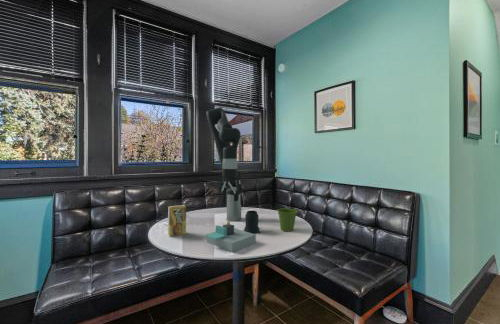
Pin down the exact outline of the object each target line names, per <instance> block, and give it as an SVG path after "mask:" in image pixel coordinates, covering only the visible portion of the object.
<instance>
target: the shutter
mask: <svg viewBox="0 0 500 324" xmlns="http://www.w3.org/2000/svg"><path fill="white" fill-rule="evenodd" d="M215 231H216V232H215ZM215 231H213V232H214V233H212V232H210V233H211V234H209V233H207V234H208V235H207V234H206V235H205V237H206V238H207V237H208V238H211V239H213V240H218V239H221V238H224V237H227V228H225V227H223V225H219V224H217V225H215Z"/></svg>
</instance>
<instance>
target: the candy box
mask: <svg viewBox="0 0 500 324" xmlns="http://www.w3.org/2000/svg"><path fill="white" fill-rule="evenodd" d="M167 209H168V210H167V211H168V213H167V215H168V216H167V219H168V221H167V234H168V236H169V237H174V236H175V237H176V236H182V235H186V234H187V206H186V205H185V204H181V205H171V206H168V207H167Z"/></svg>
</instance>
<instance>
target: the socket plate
mask: <svg viewBox="0 0 500 324" xmlns="http://www.w3.org/2000/svg"><path fill="white" fill-rule="evenodd" d="M214 232H216V230H214V231H212V232H209V233H206V235H208V234H211V233H214ZM256 234H257V233H256ZM256 234H252V233H249V232H246V231H244V230H242V229H239V228H236V227H234V234H232V235H229V236H227V237H224V238H221V239H218V240H213V239H211V238H208V237H206V243H208V244H210V245H213V246H215V247H218V248H220V249H222V250H226V251H228V252H230V253H234V252H236V251H238V250H241V249H244V248H246V247H248V246H250V245H253V244H256V241H257V240H256V239H257V235H256Z"/></svg>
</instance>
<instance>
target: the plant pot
mask: <svg viewBox="0 0 500 324" xmlns="http://www.w3.org/2000/svg"><path fill="white" fill-rule="evenodd" d="M276 211H277V213H278V219H279V226H280V230H281V231H282V230H283V232H292V231H294V229H295V228H294V227H295V224H296V223H295V221H296V217H297V214H298V210H297V209H293V208H279V209H277V210H276Z"/></svg>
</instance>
